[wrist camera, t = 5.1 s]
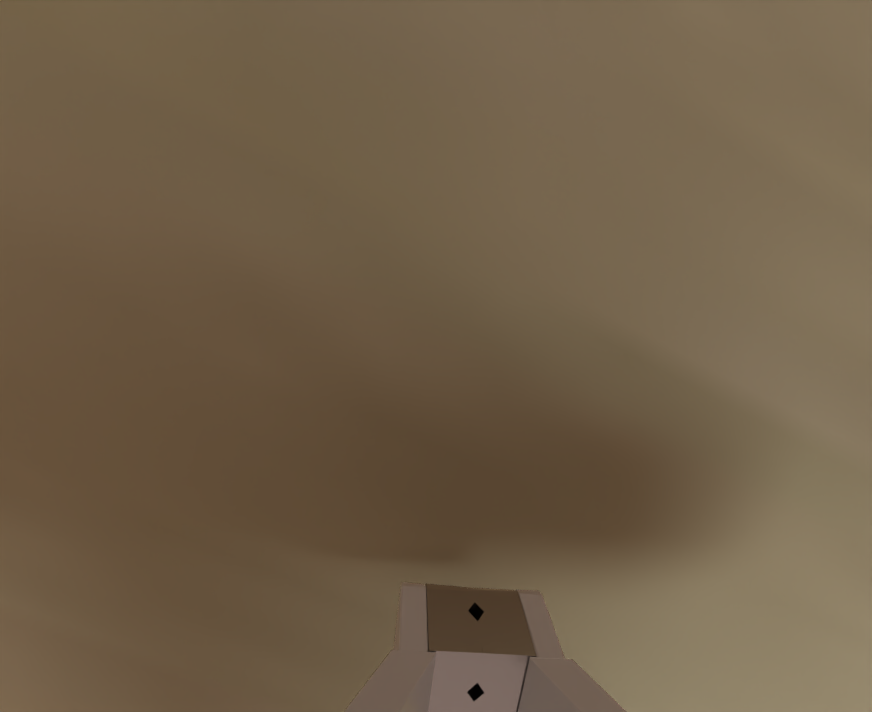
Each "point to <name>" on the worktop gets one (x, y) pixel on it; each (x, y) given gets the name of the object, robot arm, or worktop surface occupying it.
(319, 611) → the worktop surface
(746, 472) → the worktop surface
